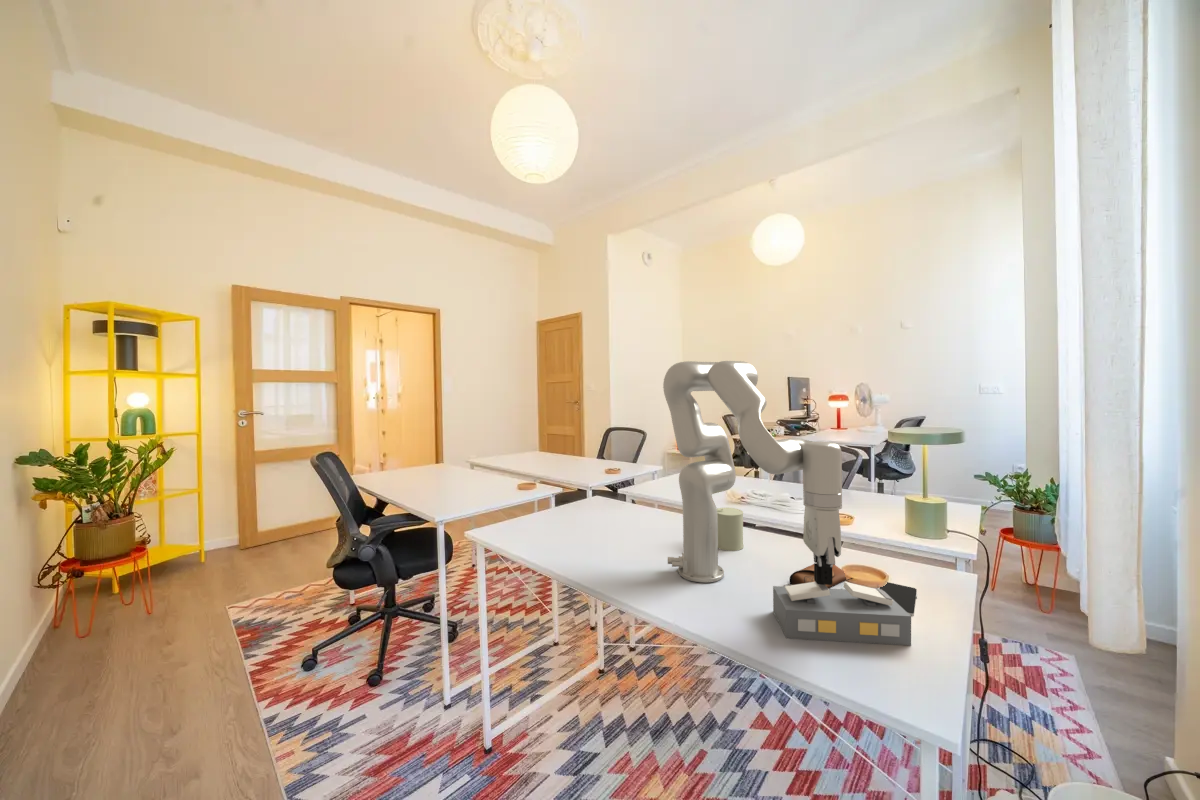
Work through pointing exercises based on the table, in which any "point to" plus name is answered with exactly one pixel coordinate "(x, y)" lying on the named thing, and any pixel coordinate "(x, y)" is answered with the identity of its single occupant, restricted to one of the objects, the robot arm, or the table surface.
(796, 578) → the sunglasses case
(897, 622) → the console
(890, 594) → the smartphone
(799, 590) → the rocker
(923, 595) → the table surface
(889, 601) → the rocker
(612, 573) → the table surface
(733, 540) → the can
